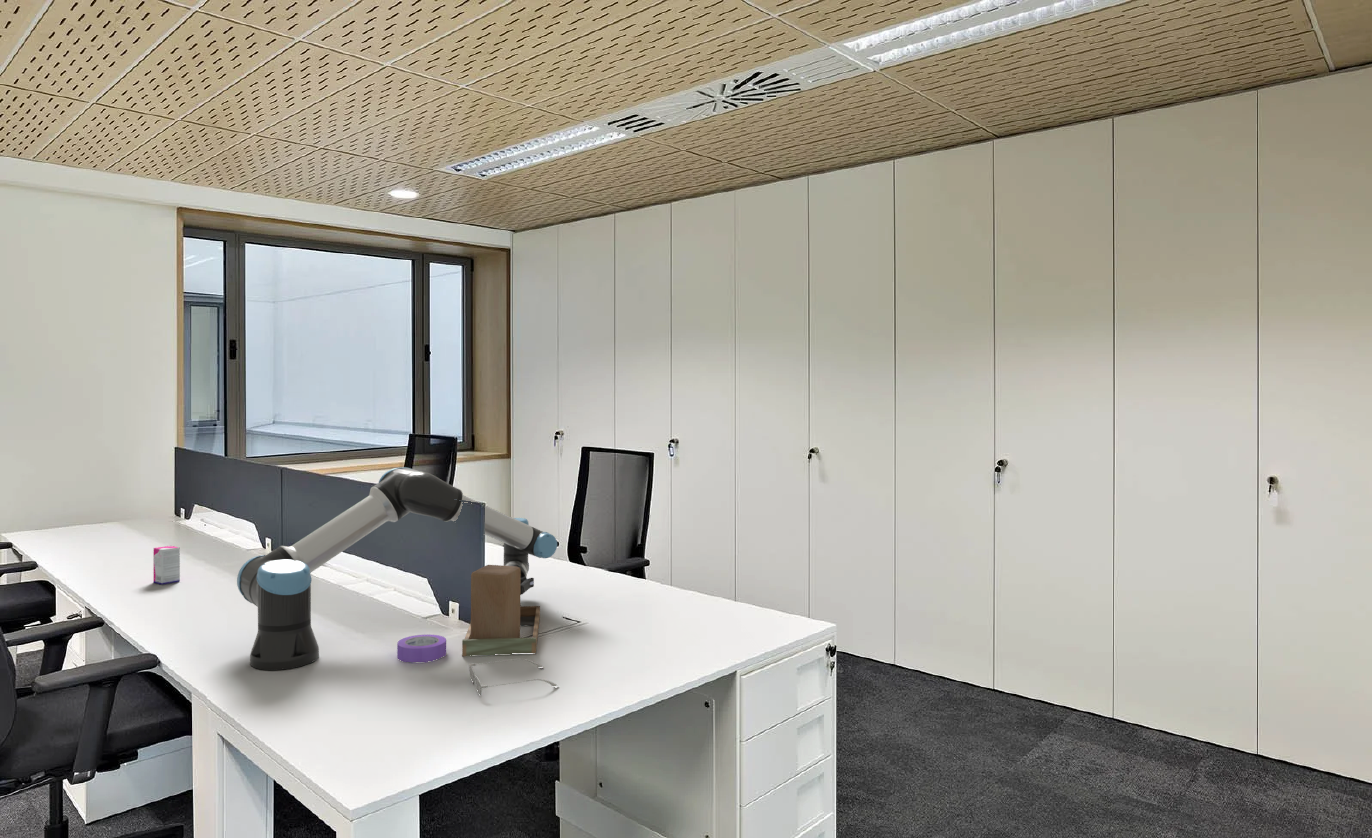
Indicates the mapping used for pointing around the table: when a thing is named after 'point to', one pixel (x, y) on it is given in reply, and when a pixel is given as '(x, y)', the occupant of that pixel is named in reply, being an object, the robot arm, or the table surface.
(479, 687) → the eyeglasses
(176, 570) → the supplement box
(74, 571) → the table surface
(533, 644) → the wooden tray
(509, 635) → the block
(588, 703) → the table surface
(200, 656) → the table surface
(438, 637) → the masking tape
